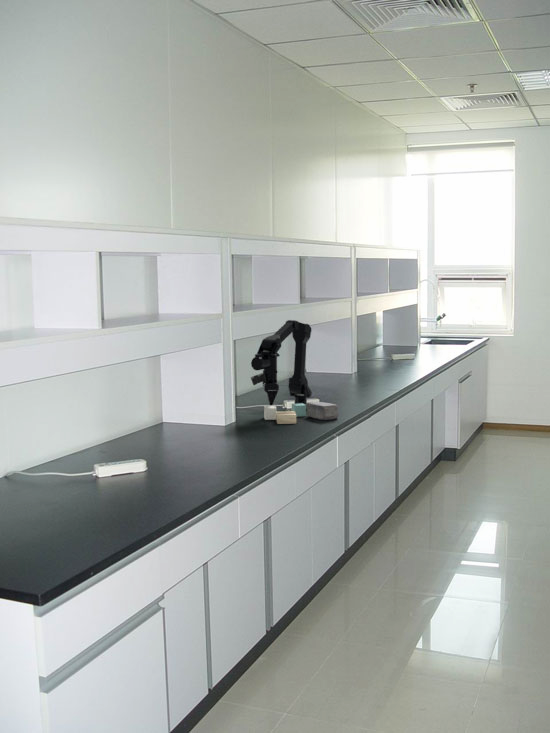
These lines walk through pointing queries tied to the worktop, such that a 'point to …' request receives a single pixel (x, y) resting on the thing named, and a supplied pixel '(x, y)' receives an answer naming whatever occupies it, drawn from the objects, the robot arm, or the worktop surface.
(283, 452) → the worktop surface
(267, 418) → the cream cube
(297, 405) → the teal cube
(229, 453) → the worktop surface
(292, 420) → the maple block
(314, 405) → the decorative stone
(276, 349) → the robot arm
